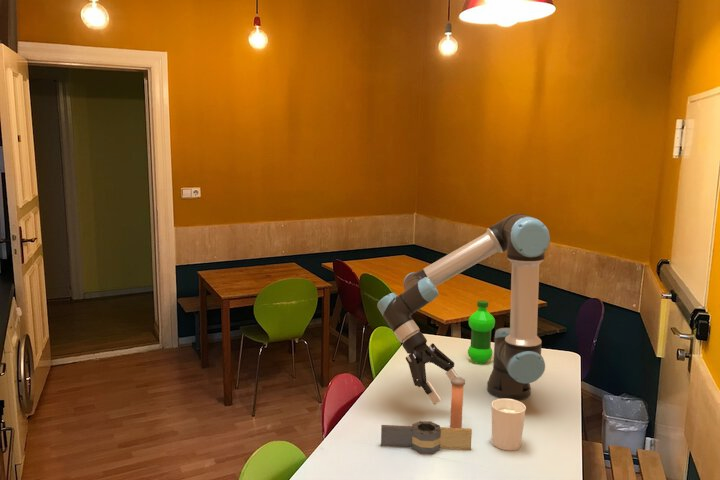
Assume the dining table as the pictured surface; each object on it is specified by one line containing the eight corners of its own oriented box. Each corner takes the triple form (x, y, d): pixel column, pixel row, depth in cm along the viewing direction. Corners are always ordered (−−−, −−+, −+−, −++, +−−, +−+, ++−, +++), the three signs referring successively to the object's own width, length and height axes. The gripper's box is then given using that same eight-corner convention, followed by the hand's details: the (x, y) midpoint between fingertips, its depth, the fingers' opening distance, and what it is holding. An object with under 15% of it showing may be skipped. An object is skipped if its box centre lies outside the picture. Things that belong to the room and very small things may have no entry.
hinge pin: (461, 425, 185) (464, 377, 182) (463, 432, 181) (465, 382, 178) (448, 425, 185) (450, 376, 183) (449, 431, 181) (451, 382, 178)
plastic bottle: (466, 356, 246) (468, 298, 242) (491, 357, 245) (495, 299, 241) (467, 365, 236) (470, 304, 232) (493, 366, 235) (497, 305, 231)
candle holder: (504, 455, 168) (507, 415, 166) (482, 439, 177) (484, 402, 175) (530, 447, 172) (533, 409, 170) (507, 432, 181) (510, 396, 179)
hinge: (468, 441, 175) (469, 423, 174) (472, 456, 167) (473, 436, 166) (381, 438, 176) (381, 419, 175) (380, 452, 168) (381, 432, 167)
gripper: (425, 334, 201) (461, 388, 194) (380, 353, 182) (419, 414, 175) (439, 322, 197) (477, 377, 190) (395, 341, 177) (435, 402, 171)
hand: (449, 395), depth 182 cm, fingers open, 13 cm apart
